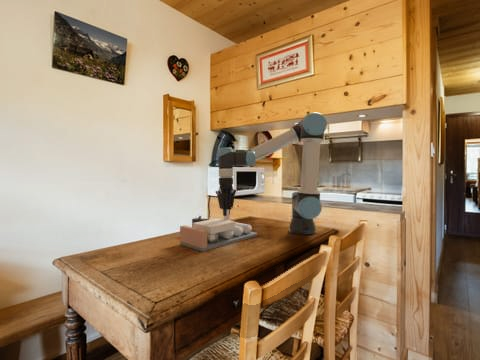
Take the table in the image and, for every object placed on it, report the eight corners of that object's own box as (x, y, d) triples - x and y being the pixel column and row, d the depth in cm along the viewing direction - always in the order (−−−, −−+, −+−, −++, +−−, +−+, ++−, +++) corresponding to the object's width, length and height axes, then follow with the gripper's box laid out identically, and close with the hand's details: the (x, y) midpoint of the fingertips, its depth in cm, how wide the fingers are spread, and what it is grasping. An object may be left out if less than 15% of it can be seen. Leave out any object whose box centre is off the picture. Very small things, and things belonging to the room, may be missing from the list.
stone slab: (235, 228, 137) (235, 221, 137) (210, 234, 126) (210, 226, 126) (217, 224, 147) (217, 218, 147) (193, 229, 136) (192, 222, 136)
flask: (208, 233, 154) (208, 215, 154) (207, 235, 151) (207, 216, 151) (192, 233, 155) (192, 215, 154) (191, 235, 152) (191, 216, 151)
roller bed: (258, 235, 148) (258, 219, 147) (202, 251, 121) (202, 231, 120) (235, 230, 160) (235, 215, 160) (180, 244, 133) (179, 226, 133)
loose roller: (219, 236, 131) (214, 230, 128) (214, 245, 129) (208, 239, 126) (203, 232, 140) (197, 227, 137) (198, 240, 138) (192, 235, 135)
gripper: (230, 176, 149) (230, 219, 150) (211, 177, 140) (212, 222, 141) (239, 176, 144) (240, 220, 145) (221, 177, 135) (222, 224, 136)
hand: (226, 221), depth 143 cm, fingers closed
